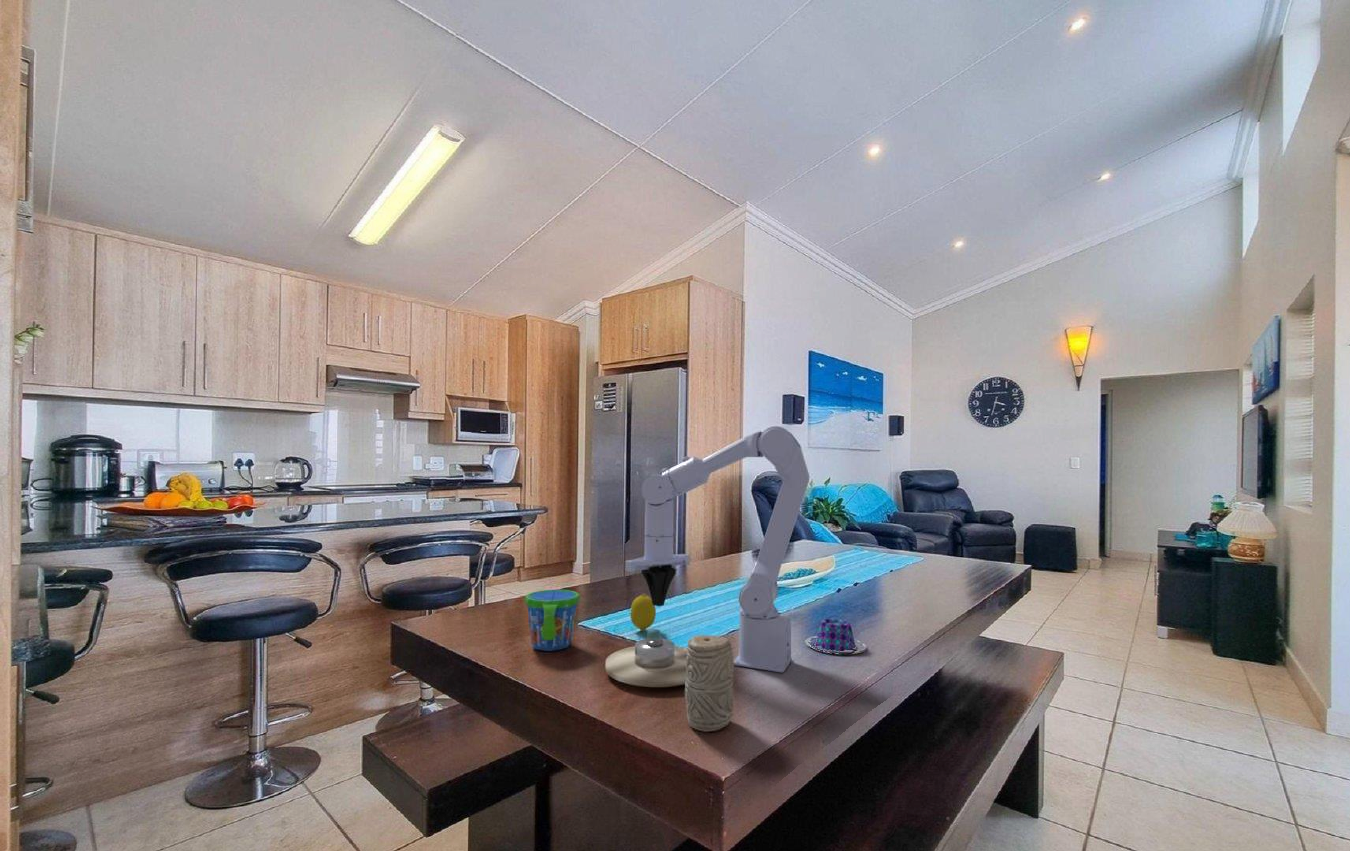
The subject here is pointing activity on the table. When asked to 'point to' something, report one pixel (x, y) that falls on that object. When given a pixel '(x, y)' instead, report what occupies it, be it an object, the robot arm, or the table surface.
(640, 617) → the lemon
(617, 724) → the table surface
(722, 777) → the table surface
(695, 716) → the carving
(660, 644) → the cover
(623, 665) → the turntable
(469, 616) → the table surface
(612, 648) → the table surface
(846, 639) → the polka dot fedora
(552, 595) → the snack cup
